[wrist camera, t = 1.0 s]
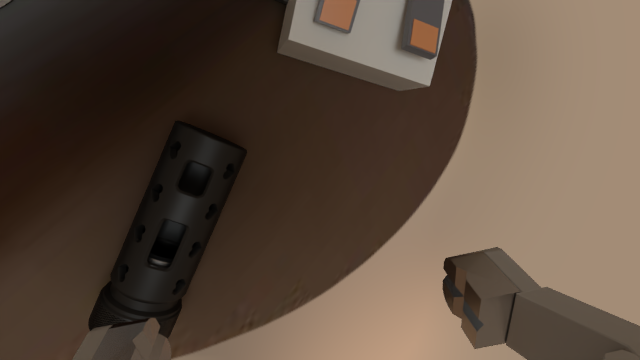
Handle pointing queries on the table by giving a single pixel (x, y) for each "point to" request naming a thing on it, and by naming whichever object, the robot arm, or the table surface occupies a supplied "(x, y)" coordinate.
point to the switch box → (359, 43)
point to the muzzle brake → (170, 229)
